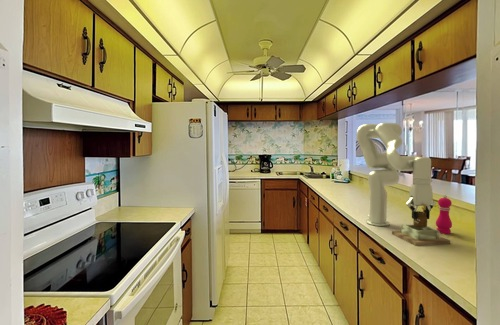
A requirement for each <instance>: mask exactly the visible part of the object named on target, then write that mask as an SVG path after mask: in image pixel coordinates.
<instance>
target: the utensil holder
mask: <svg viewBox="0 0 500 325" xmlns="http://www.w3.org/2000/svg"><path fill="white" fill-rule="evenodd" d="M425 209H426V205H425V204H423V206H418V208H417V212H418V216H417V220H415V219H412V220H413V224H412V225H414V226H415V227H420V228H426V227H427V226H428V219H427V216H426V215H427V214H426V212H424V210H425Z"/></svg>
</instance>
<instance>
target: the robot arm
mask: <svg viewBox="0 0 500 325" xmlns="http://www.w3.org/2000/svg"><path fill="white" fill-rule="evenodd" d="M402 132H403V130H402V126H401V125H400V124H399V123H396V122H380V123H379V124H378V123H365V124H362V125H359V127H358V128H357V130H356V140H357V143H358V146H359V147H360V149H361V152H362V154H363V158H364V162H365V165H366V167H367V168H368V169H370V170H371V171H370V172H369V174H368V176H367V181H368V187H369V190H368V191H369V196H368V197H369V198H368V199H369V200H368V201H369V202H368V204H369V205H368V214H367V217H368V219H366V220H365V223H366V224H368V225H370V226H375V227H387V226H390V221H388V220H387V218H388V216H387V215H388V214H387V212H388V211H387V210H388V193H387V189H386V188H385V187H391V186H396V185H398V183H399V179H400V177H399V172H412V184H411V185H410V187H409V192H408V201H407V202H406V203H405V205H406V206H407V207H408V208H409V209H410V211H411V219H412V220H414V219H415V220H417V216H418V212H417V211H418V209H419V207H424V206H423V204H425V205H426V209H425V210H424V212H426V214H427V215H426V216H427V220H430V217H431V216H430V213H431V211H432V209H433V207H434V206H435V205H436V204H437V203H436V201H435V200H434V193H433V187H432V185H431V183H432V182H433V180H432V179H431V177H432V176H431V175H432V159H431V158H430V157H426V156H416V155H415V156H414V155H400V153H399V152H398V151H397V149H399V148H400V147H401V146H402V144H403V139H402V138H401V137H400V136H401V135H402ZM372 139H379V140H380V141H381V142H382V143H383V145H384V146H385V147H386V153H385V152H384V153H383V152H379V151H378V148H377V145H376V144H375V142H374V141H373V140H372Z"/></svg>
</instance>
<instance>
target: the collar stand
mask: <svg viewBox="0 0 500 325" xmlns="http://www.w3.org/2000/svg"><path fill="white" fill-rule="evenodd" d="M391 235H393V236H395V237H396V238H400V240H403V241H405V242H407V243H409V244H411V245H413V246H432V245H450V244H451V240H450V239H447V238H445V237H444V236H443V237H442V236H440V233H439V230H437V228H433V227H430V226H429V225H427V227H426V228H420V227H415V226H414V224H401V230H392V231H391Z"/></svg>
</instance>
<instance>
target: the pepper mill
mask: <svg viewBox="0 0 500 325" xmlns="http://www.w3.org/2000/svg"><path fill="white" fill-rule="evenodd" d="M437 204H438V209H439V215H438V217H437V218H436V221H435V225H436V227H437V228H436V230H439V234H444V235H450V234H451V232H452V231H451V228H452V227H453V223H452V220H451V218H450V211H451V206H452V200H451V199H450V198H448V195H446V194H443V196H442V197H441V198H439V199H438V201H437Z"/></svg>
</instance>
